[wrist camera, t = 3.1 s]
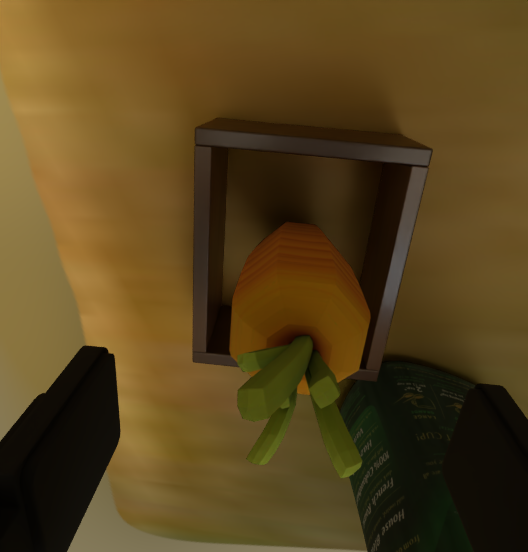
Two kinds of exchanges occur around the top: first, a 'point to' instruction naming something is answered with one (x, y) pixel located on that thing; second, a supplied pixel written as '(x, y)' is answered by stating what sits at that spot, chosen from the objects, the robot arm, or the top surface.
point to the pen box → (382, 240)
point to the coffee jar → (405, 458)
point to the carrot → (298, 337)
